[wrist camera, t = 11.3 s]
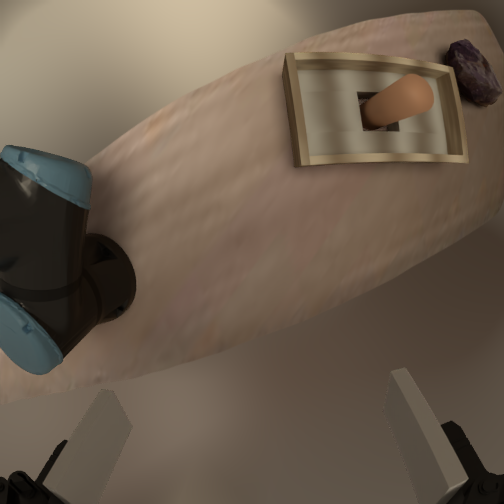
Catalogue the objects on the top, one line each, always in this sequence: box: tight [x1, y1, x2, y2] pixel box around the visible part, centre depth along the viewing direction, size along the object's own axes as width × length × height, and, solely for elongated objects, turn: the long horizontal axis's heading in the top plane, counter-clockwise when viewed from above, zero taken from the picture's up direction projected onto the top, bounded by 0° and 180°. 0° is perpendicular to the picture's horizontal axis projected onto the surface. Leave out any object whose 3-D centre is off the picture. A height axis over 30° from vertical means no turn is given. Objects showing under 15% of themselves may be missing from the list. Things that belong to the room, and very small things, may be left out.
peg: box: [359, 74, 434, 130], centre depth 29 cm, size 4×4×15 cm
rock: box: [446, 39, 502, 107], centre depth 29 cm, size 12×8×10 cm
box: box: [282, 52, 469, 167], centre depth 32 cm, size 24×14×8 cm, turn 97°
